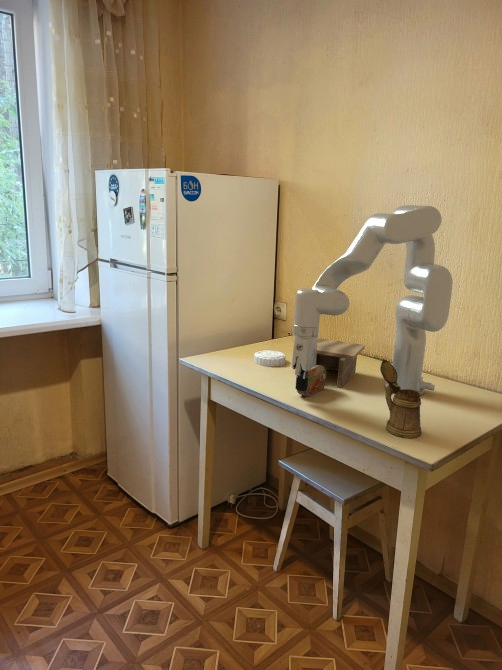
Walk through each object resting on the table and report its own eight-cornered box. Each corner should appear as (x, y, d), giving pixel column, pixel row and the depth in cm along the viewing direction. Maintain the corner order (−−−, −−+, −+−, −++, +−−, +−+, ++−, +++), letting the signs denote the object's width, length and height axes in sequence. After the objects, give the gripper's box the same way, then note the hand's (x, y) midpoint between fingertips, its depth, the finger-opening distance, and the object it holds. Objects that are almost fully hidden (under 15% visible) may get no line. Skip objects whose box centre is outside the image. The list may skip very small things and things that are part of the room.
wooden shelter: (362, 373, 186) (365, 345, 183) (348, 389, 169) (351, 358, 166) (309, 364, 194) (311, 337, 191) (291, 378, 177) (293, 348, 174)
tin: (302, 399, 158) (303, 373, 156) (293, 397, 160) (295, 371, 158) (326, 387, 169) (328, 363, 167) (318, 385, 171) (320, 361, 169)
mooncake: (289, 361, 199) (290, 352, 198) (278, 369, 188) (279, 359, 187) (261, 356, 203) (261, 347, 202) (248, 364, 192) (249, 354, 192)
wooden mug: (385, 416, 147) (392, 356, 143) (427, 433, 137) (436, 369, 133) (366, 423, 142) (372, 361, 138) (408, 441, 132) (417, 375, 128)
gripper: (310, 337, 143) (305, 399, 147) (325, 328, 156) (320, 385, 160) (285, 334, 146) (280, 394, 150) (302, 324, 159) (297, 380, 163)
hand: (301, 389), depth 155 cm, fingers closed
